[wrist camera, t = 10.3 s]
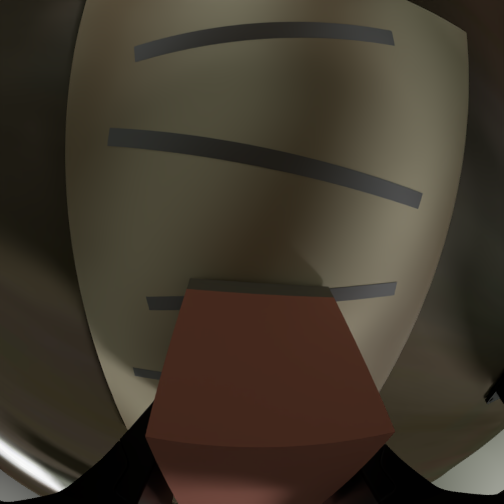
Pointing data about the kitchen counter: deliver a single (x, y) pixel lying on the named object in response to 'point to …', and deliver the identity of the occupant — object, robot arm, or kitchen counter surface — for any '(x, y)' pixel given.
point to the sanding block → (263, 397)
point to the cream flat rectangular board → (259, 164)
